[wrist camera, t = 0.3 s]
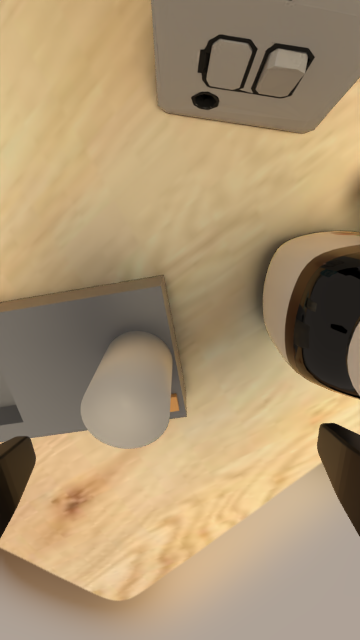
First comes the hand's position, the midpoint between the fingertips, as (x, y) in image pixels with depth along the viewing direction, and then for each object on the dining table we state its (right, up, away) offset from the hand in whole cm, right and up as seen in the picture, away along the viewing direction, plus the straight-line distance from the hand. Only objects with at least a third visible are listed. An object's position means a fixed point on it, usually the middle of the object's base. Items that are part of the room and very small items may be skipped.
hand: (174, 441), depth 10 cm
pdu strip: (-12, 0, +15) cm, 19 cm away
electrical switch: (+4, +18, +8) cm, 20 cm away
